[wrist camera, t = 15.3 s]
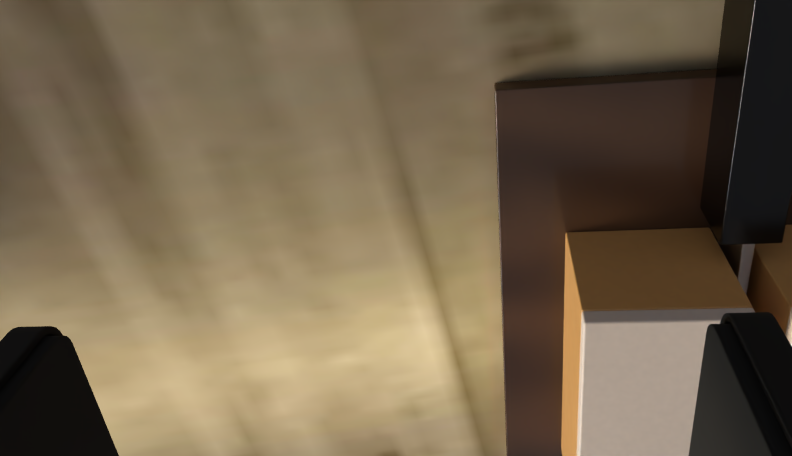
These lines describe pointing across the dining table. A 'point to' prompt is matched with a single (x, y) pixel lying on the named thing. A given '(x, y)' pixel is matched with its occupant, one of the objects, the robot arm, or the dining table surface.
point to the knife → (750, 132)
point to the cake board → (583, 207)
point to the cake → (651, 332)
